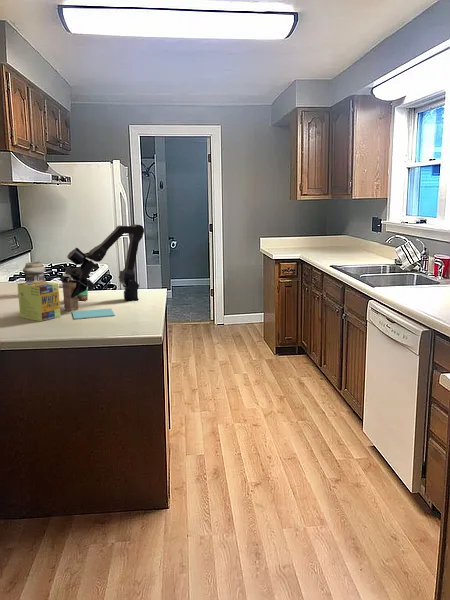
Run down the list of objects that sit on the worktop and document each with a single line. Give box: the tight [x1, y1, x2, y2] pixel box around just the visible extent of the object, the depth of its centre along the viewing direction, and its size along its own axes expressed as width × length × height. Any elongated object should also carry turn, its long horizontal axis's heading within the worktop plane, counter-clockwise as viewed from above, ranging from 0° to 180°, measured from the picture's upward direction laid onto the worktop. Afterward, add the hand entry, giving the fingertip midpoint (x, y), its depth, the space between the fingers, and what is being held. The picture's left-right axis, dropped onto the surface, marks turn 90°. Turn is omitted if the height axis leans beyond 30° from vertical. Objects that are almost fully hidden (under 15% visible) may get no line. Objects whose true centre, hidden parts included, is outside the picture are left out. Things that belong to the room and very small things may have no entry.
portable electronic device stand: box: [58, 271, 73, 288], centre depth 302 cm, size 9×8×8 cm
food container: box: [77, 287, 89, 302], centre depth 263 cm, size 12×6×10 cm, turn 168°
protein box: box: [17, 281, 61, 322], centre depth 228 cm, size 10×15×16 cm
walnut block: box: [62, 282, 79, 312], centre depth 242 cm, size 4×4×13 cm
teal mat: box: [71, 308, 116, 320], centre depth 235 cm, size 18×14×1 cm
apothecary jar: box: [22, 261, 47, 283], centre depth 278 cm, size 12×12×18 cm
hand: (68, 296), depth 241 cm, fingers closed on walnut block, 4 cm apart
